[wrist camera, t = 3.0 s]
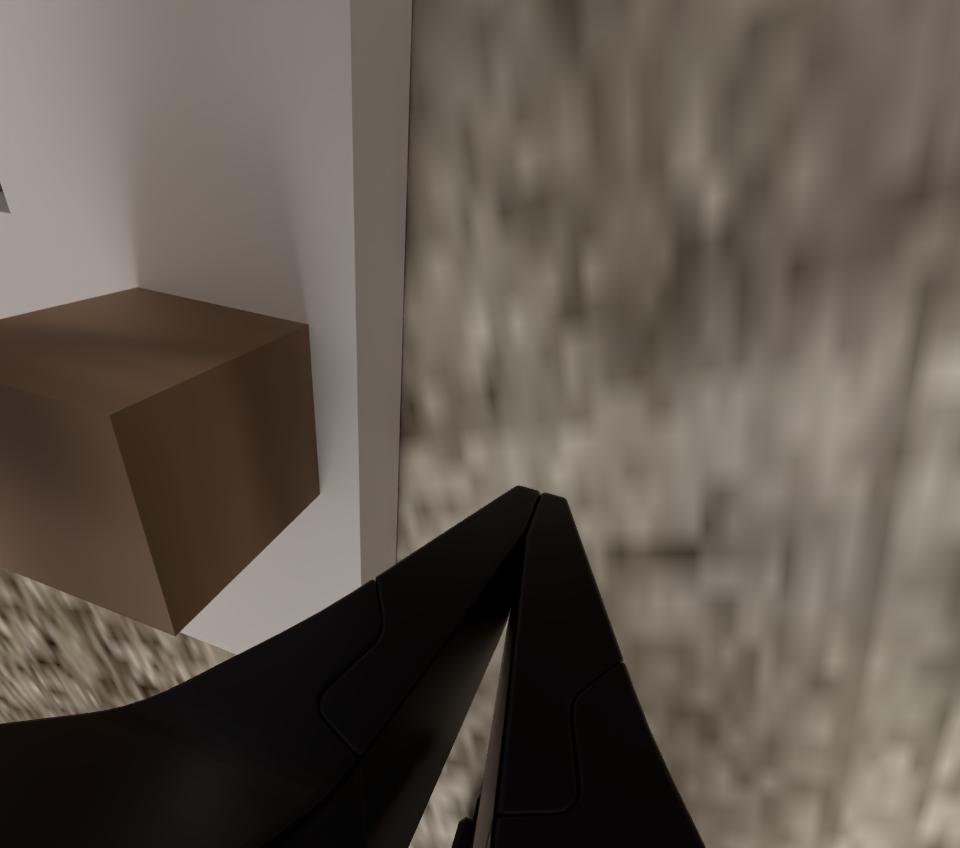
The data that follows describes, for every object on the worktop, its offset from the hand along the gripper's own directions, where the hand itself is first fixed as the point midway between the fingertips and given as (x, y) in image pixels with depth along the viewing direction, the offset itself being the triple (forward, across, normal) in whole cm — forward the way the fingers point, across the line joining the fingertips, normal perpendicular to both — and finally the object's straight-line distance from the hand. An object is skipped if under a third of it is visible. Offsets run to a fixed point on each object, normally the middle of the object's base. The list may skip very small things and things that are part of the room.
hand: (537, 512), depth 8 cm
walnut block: (+1, +7, 0) cm, 7 cm away
